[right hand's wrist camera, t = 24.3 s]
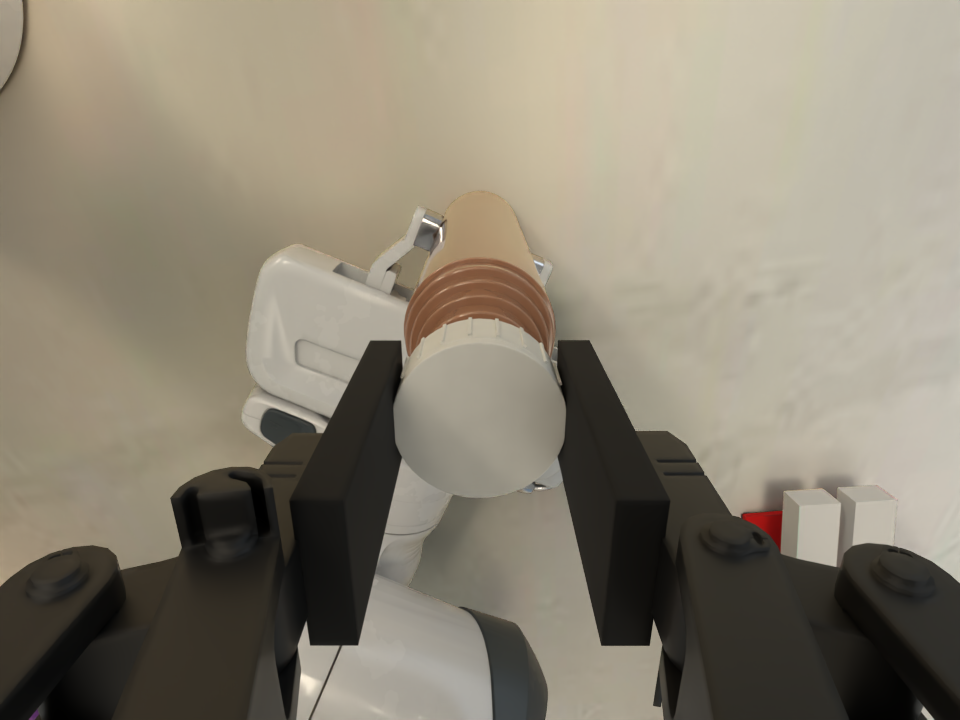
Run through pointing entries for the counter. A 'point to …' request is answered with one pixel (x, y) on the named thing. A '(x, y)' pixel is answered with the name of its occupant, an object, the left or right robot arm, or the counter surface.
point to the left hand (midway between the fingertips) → (485, 234)
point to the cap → (479, 409)
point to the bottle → (479, 274)
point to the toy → (830, 524)
